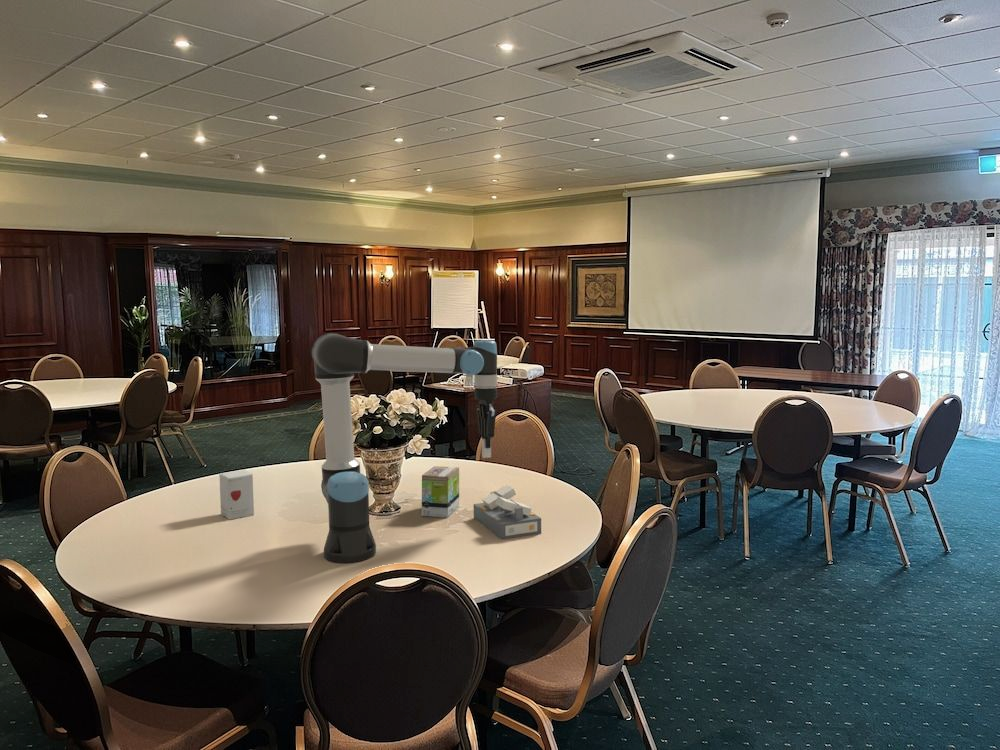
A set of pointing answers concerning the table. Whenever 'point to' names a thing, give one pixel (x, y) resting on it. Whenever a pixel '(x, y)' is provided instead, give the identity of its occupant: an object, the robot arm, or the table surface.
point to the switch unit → (507, 521)
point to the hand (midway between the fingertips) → (486, 457)
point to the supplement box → (236, 494)
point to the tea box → (440, 491)
